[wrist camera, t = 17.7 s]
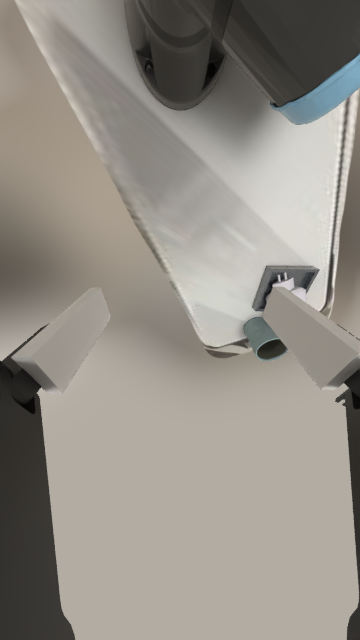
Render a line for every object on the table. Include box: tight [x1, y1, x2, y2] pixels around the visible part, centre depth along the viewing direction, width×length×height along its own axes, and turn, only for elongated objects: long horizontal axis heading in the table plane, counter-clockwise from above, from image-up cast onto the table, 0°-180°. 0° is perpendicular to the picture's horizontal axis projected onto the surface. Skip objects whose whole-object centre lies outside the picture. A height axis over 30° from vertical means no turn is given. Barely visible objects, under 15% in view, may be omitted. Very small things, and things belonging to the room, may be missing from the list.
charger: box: [266, 272, 307, 303], centre depth 44 cm, size 5×9×15 cm
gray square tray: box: [252, 266, 320, 311], centre depth 46 cm, size 14×14×2 cm
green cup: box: [244, 317, 288, 361], centre depth 51 cm, size 10×10×12 cm
